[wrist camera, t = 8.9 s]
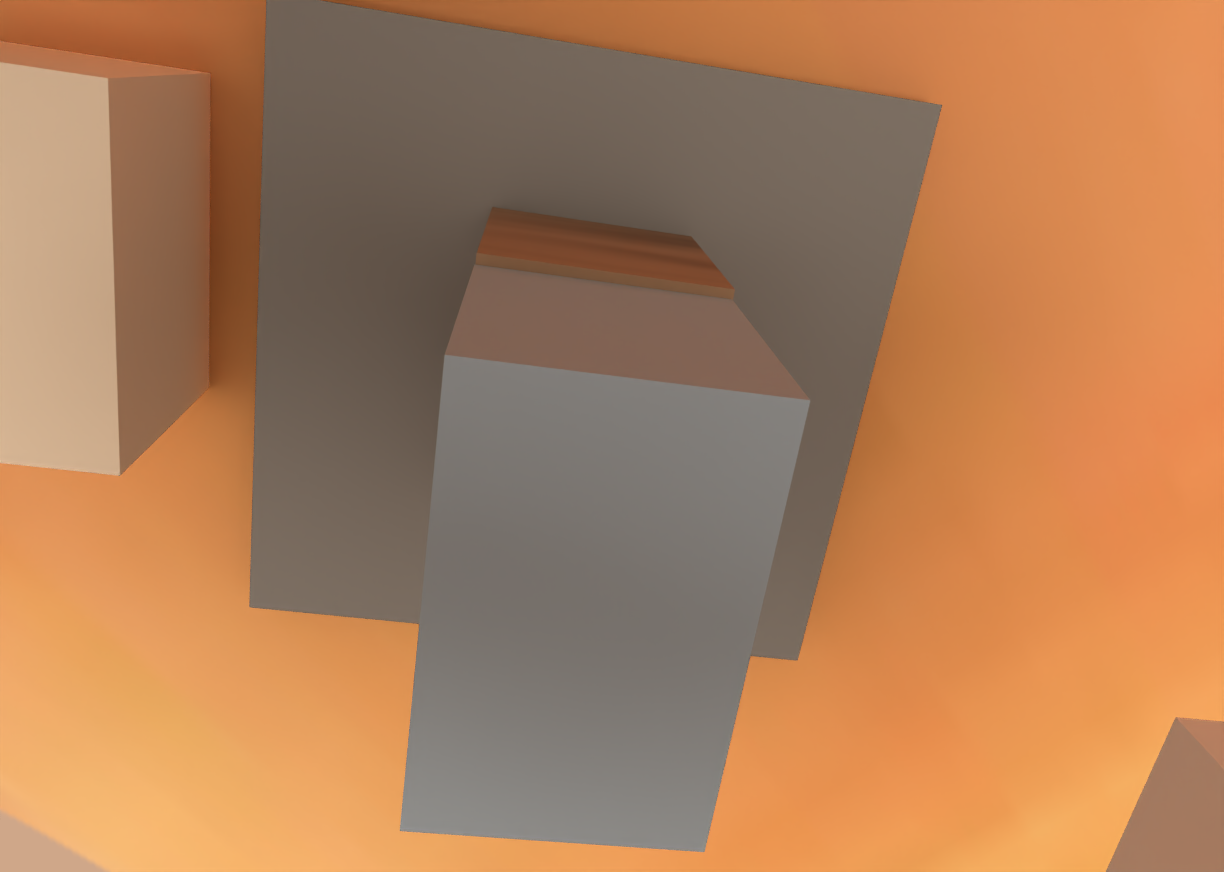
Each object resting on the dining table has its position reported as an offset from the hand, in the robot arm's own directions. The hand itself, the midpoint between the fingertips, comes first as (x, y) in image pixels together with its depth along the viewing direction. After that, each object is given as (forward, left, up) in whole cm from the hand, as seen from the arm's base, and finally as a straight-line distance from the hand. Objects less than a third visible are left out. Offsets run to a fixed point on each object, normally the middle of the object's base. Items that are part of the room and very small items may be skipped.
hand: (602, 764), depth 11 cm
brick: (-2, -12, -17) cm, 21 cm away
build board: (0, 0, -17) cm, 17 cm away
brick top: (+1, 0, -10) cm, 10 cm away
